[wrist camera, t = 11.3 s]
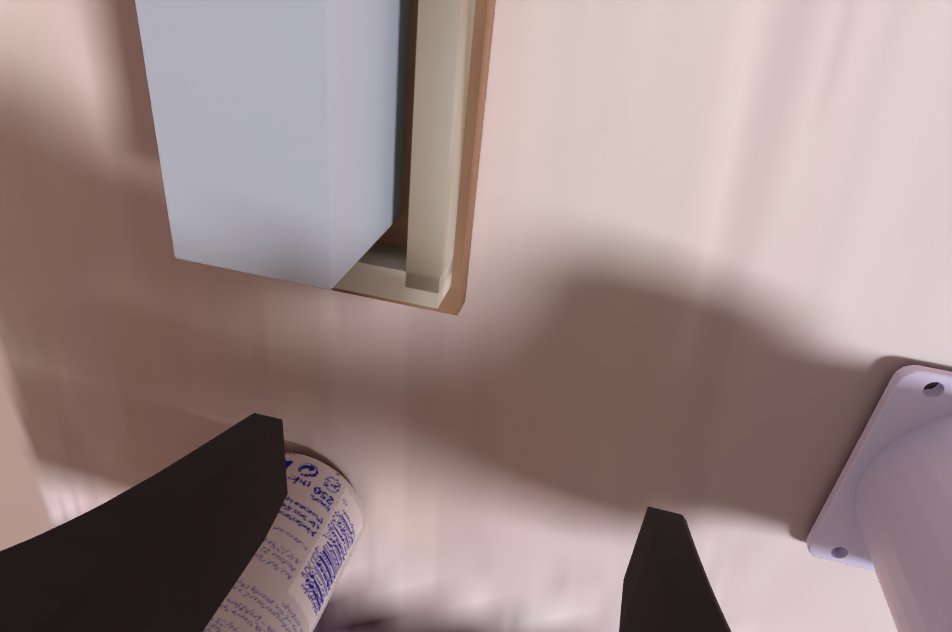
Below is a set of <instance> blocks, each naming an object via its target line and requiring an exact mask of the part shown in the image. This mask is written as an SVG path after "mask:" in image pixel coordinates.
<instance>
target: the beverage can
mask: <svg viewBox="0 0 952 632" xmlns="http://www.w3.org/2000/svg"><path fill="white" fill-rule="evenodd" d="M285 463H286V476H287V490H288V494H287V496H286V498H285V500H284V502H283V504H282V507H281V509H280V511H279V513H278V515H277V517H276V519H275V521H274V523H273V524H272V526H271V528H270V530H269V532H268V534H267V536H266V538H265V540H264V541H263V543H262V544H261V546H260V547H259V549H258V550H257V552H256V553H255V555H254V556H253V558H252V559H251V561H250V562H249V564H248V565H247V567H246V568H245V570H244V571H243V573H242V574H241V576H240V577H239V579H238V580H237V582H236V583H235V585H234V586H233V588H232V589H231V591H230V592H229V594H228V595H227V597H226V598H225V600H224V601H223V602H222V604H221V605H220V607H219V608H218V610H217V611H216V613H215V614H214V616H213V617H212V619H211V620H210V622H209V623H208V625H207V626H206V628H205V629H204V630H203V632H314V630H315V628H316V626H317V624H318V622H319V620H320V618H321V616H322V614H323V612H324V610H325V608H326V606H327V604H328V602H329V600H330V598H331V595H332V593H333V591H334V589H335V587H336V585H337V583H338V581H339V579H340V577H341V575H342V573H343V571H344V569H345V567H346V565H347V563H348V561H349V559H350V557H351V555H352V553H353V551H354V549H355V546H356V544H357V542H358V540H359V538H360V536H361V534H362V532H363V530H364V526H365V513H364V509H363V505H362V503H361V501H360V499H359V497H358V495H357V493H356V492H355V490H354V489H353V487H352V486H351V485H350V484H349V483H348V481H347V480H346V479H345V478H344V477H343V476H342V475H340V474H339V473H338V472H337V471H336V470H334V469H333V468H331V467H330V466H328V465H326V464H324V463H323V462H321V461H319V460H317V459H314V458H311V457H308V456H306V455H302V454H296V453H285Z"/></svg>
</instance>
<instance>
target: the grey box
mask: <svg viewBox="0 0 952 632" xmlns="http://www.w3.org/2000/svg"><path fill="white" fill-rule="evenodd" d="M135 4H136V10H137V17H138V23H139V29H140V36H141V42H142V49H143V55H144V62H145V68H146V75H147V81H148V88H149V94H150V100H151V107H152V113H153V120H154V126H155V133H156V139H157V146H158V152H159V158H160V165H161V171H162V178H163V184H164V191H165V197H166V204H167V210H168V216H169V223H170V229H171V236H172V242H173V249H174V255H175V258H177V259H182V260H187V261H192V262H197V263H202V264H207V265H211V266H216V267H221V268H226V269H231V270H236V271H241V272H245V273H250V274H255V275H260V276H265V277H270V278H275V279H279V280H284V281H289V282H294V283H299V284H304V285H309V286H313V287H318V288H323V289H328V290H331V289H332V288H333V287H334V286H335V285H336V284H337V283H338V282H339V281H340V279H341V278H342V277H343V276H344V275H345V274H346V273H347V272H348V271H349V270H350V269H351V268H352V267H353V266H354V265H355V264H356V262H357V261H358V260H359V259H360V258H361V257H362V256H363V255H364V254H365V253H366V252H367V251H368V250H369V249H370V248H371V247H372V245H373V244H374V243H375V242H376V241H377V240H378V239H379V238H380V237H381V236H382V235H383V234H384V233H385V232H386V231H387V229H388V228H389V227H390V226H391V225H392V224H393V223H394V222H395V221H396V220H397V219H398V218H399V217H400V216H401V195H402V172H403V148H404V124H405V101H406V77H407V53H408V30H409V6H410V0H135Z"/></svg>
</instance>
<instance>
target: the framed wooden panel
mask: <svg viewBox="0 0 952 632" xmlns="http://www.w3.org/2000/svg"><path fill="white" fill-rule="evenodd" d="M494 10H495V0H410V6H409V30H408V53H407V77H406V101H405V124H404V148H403V172H402V195H401V216H400V217H399V218H398V219H397V220H396V221H395V222H394V223H393V224H392V225H391V226H390V227H389V228H388V229H387V231H386V232H385V233H384V234H383V235H382V236H381V237H380V238H379V239H378V240H377V241H376V242H375V243H374V244H373V245H372V247H371V248H370V249H369V250H368V251H367V252H366V253H365V254H364V255H363V256H362V257H361V258H360V259H359V260H358V261H357V262H356V264H355V265H354V266H353V267H352V268H351V269H350V270H349V271H348V272H347V273H346V274H345V275H344V276H343V277H342V278H341V279H340V281H339V282H338V283H337V284H336V285H335V286H334V287H333V288H332V289H331V290H334V291H339V292H344V293H349V294H354V295H359V296H364V297H369V298H374V299H378V300H383V301H388V302H393V303H398V304H403V305H408V306H413V307H418V308H423V309H428V310H433V311H437V312H442V313H447V314H452V315H458V314H459V312H460V310H461V308H462V306H463V304H464V302H465V296H466V286H467V276H468V267H469V257H470V247H471V237H472V227H473V217H474V207H475V198H476V188H477V178H478V168H479V158H480V148H481V138H482V129H483V119H484V109H485V99H486V89H487V79H488V69H489V60H490V50H491V40H492V30H493V20H494Z"/></svg>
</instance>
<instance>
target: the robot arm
mask: <svg viewBox="0 0 952 632" xmlns="http://www.w3.org/2000/svg"><path fill="white" fill-rule="evenodd" d="M932 382H939V384H938V385H937V386H936V387H934V388H932V389H924V387H925V386H926V385H927V384H929V383H932ZM287 494H288V490H287V476H286V463H285V449H284V435H283V422H282V420H281V419H277V418H273V417H269V416H265V415H260V414H256V413H254V414H252V415H250V416H249V417H247V418H245V419H244V420H242V421H240V422H239V423H237V424H236V425H234V426H233V427H231V428H229V429H228V430H226V431H225V432H223V433H221V434H220V435H218V436H217V437H215V438H214V439H212V440H210V441H209V442H207V443H206V444H204V445H202V446H201V447H199V448H198V449H196V450H195V451H193V452H191V453H190V454H188V455H187V456H185V457H183V458H182V459H180V460H178V461H177V462H175V463H173V464H172V465H170V466H169V467H167V468H165V469H164V470H162V471H160V472H159V473H157V474H155V475H154V476H152V477H150V478H148V479H147V480H145V481H143V482H141V483H139V484H138V485H136V486H134V487H132V488H130V489H129V490H127V491H125V492H123V493H122V494H120V495H118V496H116V497H114V498H113V499H111V500H109V501H107V502H105V503H104V504H102V505H100V506H98V507H96V508H94V509H92V510H90V511H88V512H86V513H84V514H82V515H80V516H78V517H76V518H74V519H72V520H70V521H68V522H66V523H64V524H62V525H60V526H57V527H55V528H53V529H51V530H49V531H47V532H45V533H43V534H40V535H38V536H36V537H34V538H32V539H29V540H27V541H24V542H22V543H19V544H17V545H15V546H12V547H10V548H7V549H5V550H2V551H0V632H203V630H204V629H205V628H206V626H207V625H208V623H209V622H210V620H211V619H212V617H213V616H214V614H215V613H216V611H217V610H218V608H219V607H220V605H221V604H222V602H223V601H224V600H225V598H226V597H227V595H228V594H229V592H230V591H231V589H232V588H233V586H234V585H235V583H236V582H237V580H238V579H239V577H240V576H241V574H242V573H243V571H244V570H245V568H246V567H247V565H248V564H249V562H250V561H251V559H252V558H253V556H254V555H255V553H256V552H257V550H258V549H259V547H260V546H261V544H262V543H263V541H264V540H265V538H266V536H267V534H268V532H269V530H270V528H271V526H272V524H273V523H274V521H275V519H276V517H277V515H278V513H279V511H280V509H281V507H282V504H283V502H284V500H285V498H286V496H287ZM806 543H807V547H808V550H809V552H810V553H811V554H812V555H813V556H816V557H818V558H822V559H826V560H830V561H835V562H839V563H843V564H847V565H851V566H855V567H860V568H864V569H868V570H872V571H876V574H877V576H878V579H879V582H880V584H881V587H882V590H883V592H884V595H885V598H886V600H887V603H888V606H889V609H890V611H891V614H892V617H893V619H894V622H895V625H896V627H897V630H898V632H952V372H951V371H946V370H940V369H935V368H930V367H925V366H920V365H909V366H905V367H902V368H900V369H899V370H897V371H896V372H895V373H894V375H893V376H892V378H891V380H890V382H889V383H888V385H887V387H886V389H885V391H884V393H883V395H882V397H881V399H880V400H879V402H878V404H877V406H876V408H875V410H874V412H873V414H872V416H871V417H870V419H869V421H868V423H867V425H866V427H865V429H864V431H863V433H862V435H861V436H860V438H859V440H858V442H857V444H856V446H855V448H854V450H853V452H852V453H851V455H850V457H849V459H848V461H847V463H846V465H845V467H844V469H843V470H842V472H841V474H840V476H839V478H838V480H837V482H836V484H835V486H834V487H833V489H832V491H831V493H830V495H829V497H828V499H827V501H826V503H825V505H824V506H823V508H822V510H821V512H820V514H819V516H818V518H817V520H816V522H815V523H814V525H813V527H812V529H811V531H810V533H809V535H808V537H807V540H806ZM837 547H842V548H841V549H834V548H837ZM619 632H731V630H730V628H729V626H728V624H727V621H726V619H725V617H724V615H723V613H722V611H721V608H720V606H719V604H718V602H717V600H716V597H715V595H714V593H713V590H712V588H711V585H710V583H709V581H708V578H707V576H706V573H705V571H704V568H703V566H702V563H701V561H700V558H699V555H698V553H697V550H696V547H695V545H694V542H693V539H692V536H691V533H690V531H689V528H688V524H687V521H686V520H685V518H684V517H683V515H681V514H677V513H673V512H669V511H664V510H660V509H656V508H652V507H648V508H647V511H646V514H645V517H644V520H643V523H642V526H641V529H640V532H639V535H638V538H637V541H636V544H635V547H634V550H633V553H632V556H631V559H630V562H629V565H628V568H627V571H626V574H625V577H624V582H623V593H622V604H621V616H620V628H619Z"/></svg>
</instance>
